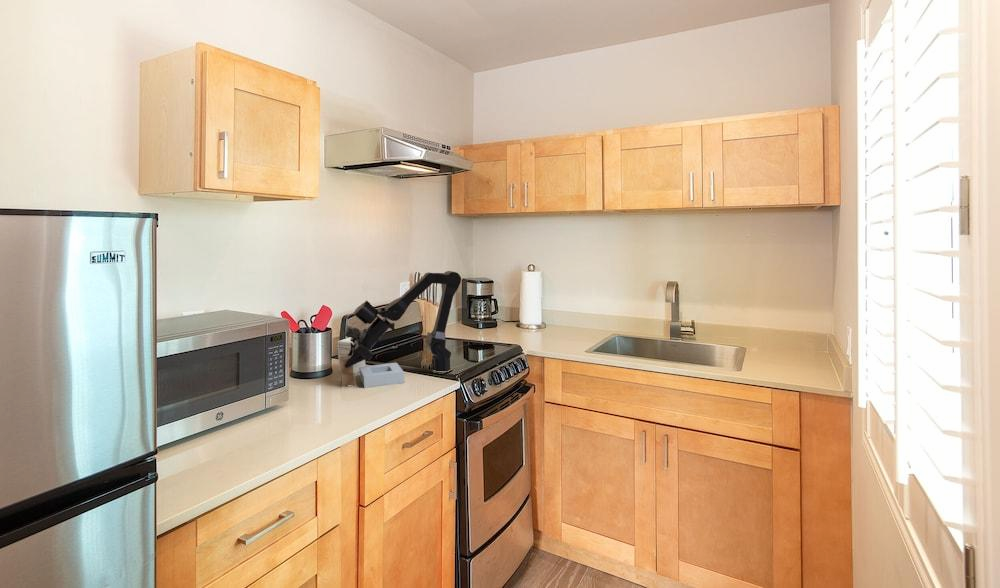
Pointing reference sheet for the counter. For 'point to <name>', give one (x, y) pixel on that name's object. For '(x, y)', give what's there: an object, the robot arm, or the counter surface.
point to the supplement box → (344, 350)
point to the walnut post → (346, 372)
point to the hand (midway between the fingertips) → (344, 365)
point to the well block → (381, 375)
